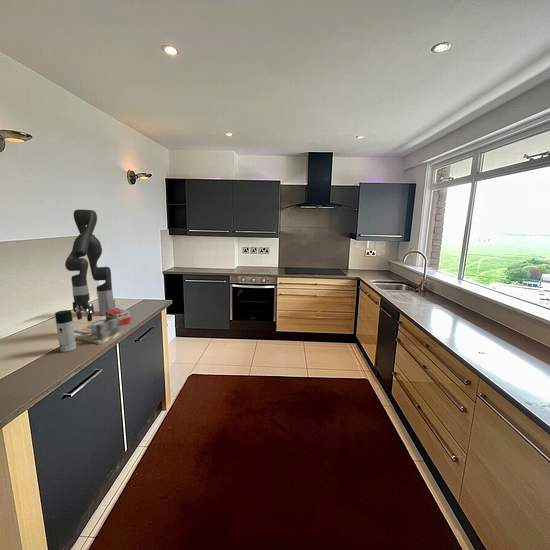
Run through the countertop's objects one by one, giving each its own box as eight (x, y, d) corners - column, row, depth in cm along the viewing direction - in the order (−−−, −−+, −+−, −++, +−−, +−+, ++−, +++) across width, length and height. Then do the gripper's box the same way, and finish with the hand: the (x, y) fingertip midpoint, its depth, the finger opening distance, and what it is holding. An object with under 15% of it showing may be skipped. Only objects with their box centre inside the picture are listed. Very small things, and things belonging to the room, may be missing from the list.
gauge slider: (102, 330, 167) (100, 321, 166) (110, 332, 165) (108, 322, 164) (84, 337, 158) (83, 327, 157) (92, 339, 156) (91, 328, 154)
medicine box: (131, 322, 186) (129, 310, 184) (118, 326, 179) (117, 314, 177) (117, 318, 194) (116, 307, 192) (105, 322, 187) (104, 310, 185)
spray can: (62, 347, 149) (56, 310, 145) (77, 345, 152) (72, 309, 148) (58, 353, 143) (52, 314, 139) (75, 350, 146) (69, 312, 142)
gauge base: (93, 327, 177) (91, 312, 176) (124, 333, 168) (123, 317, 166) (66, 337, 163) (64, 321, 161) (99, 344, 153) (96, 327, 152)
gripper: (95, 292, 165) (99, 319, 168) (79, 290, 170) (82, 316, 173) (83, 296, 158) (87, 324, 161) (65, 293, 163) (70, 320, 166)
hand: (84, 320), depth 167 cm, fingers open, 8 cm apart
